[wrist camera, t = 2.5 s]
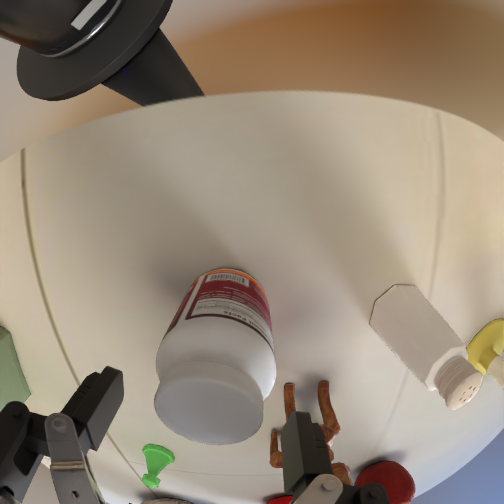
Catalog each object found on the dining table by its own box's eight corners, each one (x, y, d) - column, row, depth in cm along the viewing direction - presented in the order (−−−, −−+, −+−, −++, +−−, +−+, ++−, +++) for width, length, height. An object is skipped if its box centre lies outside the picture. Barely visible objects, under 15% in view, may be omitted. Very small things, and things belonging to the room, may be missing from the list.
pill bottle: (219, 350, 21) (198, 462, 11) (171, 292, 20) (108, 391, 9) (284, 314, 20) (306, 429, 10) (238, 249, 19) (219, 337, 8)
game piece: (177, 451, 26) (168, 488, 20) (171, 463, 27) (163, 496, 22) (145, 440, 26) (132, 475, 20) (142, 452, 27) (131, 485, 21)
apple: (345, 485, 30) (355, 530, 20) (346, 464, 27) (360, 518, 18) (397, 468, 29) (413, 510, 19) (407, 443, 27) (429, 492, 17)
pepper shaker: (431, 296, 20) (508, 363, 9) (398, 345, 21) (455, 427, 11) (392, 271, 19) (480, 345, 9) (356, 327, 21) (412, 424, 10)
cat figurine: (317, 460, 27) (331, 545, 13) (266, 463, 27) (269, 552, 13) (345, 360, 22) (397, 491, 8) (271, 365, 22) (281, 513, 9)
